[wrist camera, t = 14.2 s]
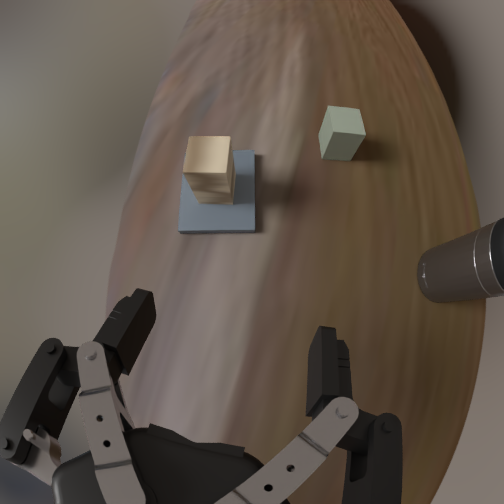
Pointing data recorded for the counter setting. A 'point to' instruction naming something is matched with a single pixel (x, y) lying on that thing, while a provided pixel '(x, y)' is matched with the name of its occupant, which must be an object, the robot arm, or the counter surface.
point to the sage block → (341, 133)
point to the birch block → (210, 169)
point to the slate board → (221, 215)
